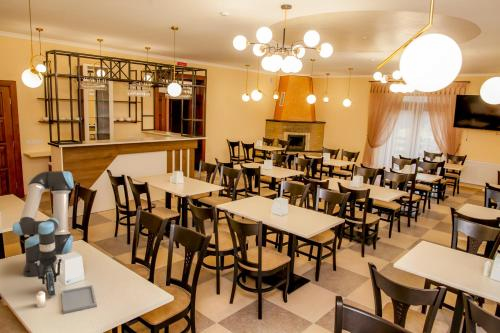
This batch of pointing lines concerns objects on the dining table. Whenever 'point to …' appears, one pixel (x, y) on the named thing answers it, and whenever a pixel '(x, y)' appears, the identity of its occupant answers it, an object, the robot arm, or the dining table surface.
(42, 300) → the shaker
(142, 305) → the dining table surface
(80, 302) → the tray
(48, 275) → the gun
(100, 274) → the dining table surface
